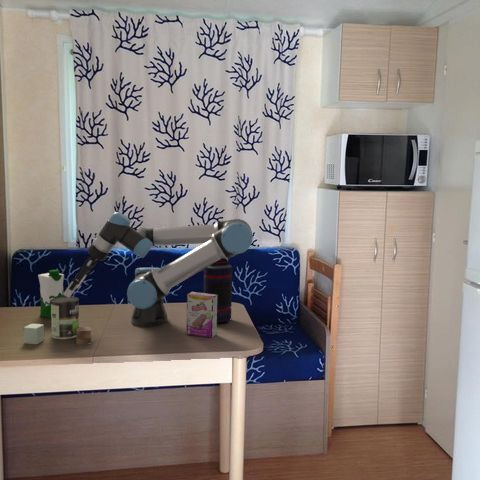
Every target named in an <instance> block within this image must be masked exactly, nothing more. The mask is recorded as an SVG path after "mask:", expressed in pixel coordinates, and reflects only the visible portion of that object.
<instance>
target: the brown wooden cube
mask: <svg viewBox="0 0 480 480" xmlns="http://www.w3.org/2000/svg"><path fill="white" fill-rule="evenodd" d="M76 332H77V337H76V345H86V344H87V345H89V344H88V343H91V344H92V327H91V326H79V327H77V331H76Z"/></svg>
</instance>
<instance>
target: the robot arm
mask: <svg viewBox="0 0 480 480" xmlns="http://www.w3.org/2000/svg"><path fill="white" fill-rule="evenodd" d="M130 224H131V219H130V218H129V217H128V216H127V215H125V214H124V213H121V212H119V211H115V212H113V213H112V214H111V216H110V217H109V218H108V219H107V221H106V222H105V224H104V225H103V227H102V229H101V230H100V231H99V233H98V235H97V234H96V235H95V236H94V237H95V238H94V240H93V242H92V243H91V244H90V245H89V246H88V248H87V253H88V254H89V255H90V256H88V257H87V258H86V259H85V261H84V263H83V264H82V265H81V268H80V270H79V271H78V273H77V274H76V275H75V276H74V278H71V279H70V281H71V282H70V283H69V285H68V287H67V288H66V289H65V291H63V296H64V297H68V298H70V297H72V295H73V293H74V292H75V290H76V289H79V287H80V285H81V284H82V283H83V282H84V280H85V278H86V277H87V276H88V277H89V275H91V274H90V272H91V270H92V269H93V268H95V266H96V265H97V263H98V261H101V262H103V261H105V260H106V259H107V257H108V255H109V253H111V252H112V250H113V249H114V247H115V246H116V244H121V245H122V246H123V247H125V248H126V249H127V250H128V251H130V252H132V253H133V254H134V255H136V256H138V257H140V258H142V259H143V258H145V257H146V255H147V254H148V253H149V251H150V249H151V248H152V247H165V246H166V247H167V246H168V247H169V246H180V245H183V246H184V245H196V244H197V245H199V246H197V247H195V248H194V249H192V250H190V251H188V252H187V253H185V254H183V255H181V256H179V257H178V258H177V259H174V260H173V261H172V262H169V263H168V264H166V265H165V266H163V267H137V268H135V270H134V275H135V277H134V279H133V280H132V281H131V282H130V283H129V285H128V288H127V292H126V296H127V299H128V301H129V303H130V304H131V305H132V306H133V310H132V313H131V316H130V317H131V318H130V319H131V321H130V323H131V324H132V325H134V326H139V327H145V328H146V327H158V326H162V325H165V324H166V323H168V320H169V319H168V314H167V310H166V307H165V303H164V297H166V296H168V295H169V292H170V290H171V289H172V288H173V287H175V286H177V285H178V284H180V283H183V281H185V280H186V281H187V279H189V278H190V277H192V276H194V275H196V274H198V273H199V272H201V271H204V268H206V267H208V266H210V265H211V264H213V263H215V262H216V261H218V260H220V259H221V258H224V259H228V260H229V259H231V258H233V257H235V256H236V255H239V254H243V253H245V252H246V251H247V250H248V249H250V247H251V245H252V243H253V238H254V236H253V232H252V228H251V226H250V224H249V223H248V222H246V221H245V220H243V219H240V218H234V219H230V220H229V219H228V220H222V221H216V222H215V223H213V224H200V225H199V224H198V225H185V226H184V225H183V226H168V227H167V226H166V227H154V228H147V227H141V228H138V229H136V230H135V229H134V228H133V227H132V226H130ZM117 242H118V243H117ZM200 244H201V245H200Z"/></svg>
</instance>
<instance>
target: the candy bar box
mask: <svg viewBox="0 0 480 480" xmlns="http://www.w3.org/2000/svg"><path fill="white" fill-rule="evenodd" d="M217 325H218V322H217V295H214V294H206V293H204V292H196V291H191V292H189V293H187V295H186V329H185V330H186V334H185V335H190V336H197V337H201V338H202V337H203V338H210V339H212V338H213V339H214V338H215V336H216V335H217V333H218V332H217V331H218V330H217V327H218V326H217Z"/></svg>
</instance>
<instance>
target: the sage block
mask: <svg viewBox="0 0 480 480" xmlns="http://www.w3.org/2000/svg"><path fill="white" fill-rule="evenodd" d="M44 327H45V325H44V324H41V323H29V324H28V325H26V326H24V327H23V334H24V335H23V337H24V338H23V339H24V340H23V341H24V344H29V345H30V344H31V345H38V344H40V343H41V342H43V341H45V328H44Z"/></svg>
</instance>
